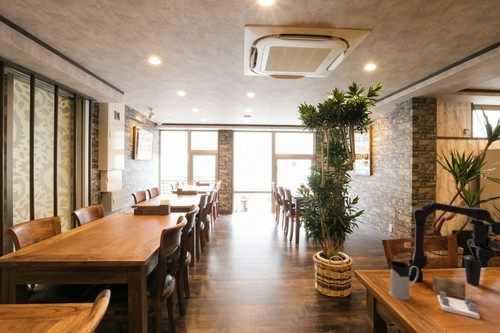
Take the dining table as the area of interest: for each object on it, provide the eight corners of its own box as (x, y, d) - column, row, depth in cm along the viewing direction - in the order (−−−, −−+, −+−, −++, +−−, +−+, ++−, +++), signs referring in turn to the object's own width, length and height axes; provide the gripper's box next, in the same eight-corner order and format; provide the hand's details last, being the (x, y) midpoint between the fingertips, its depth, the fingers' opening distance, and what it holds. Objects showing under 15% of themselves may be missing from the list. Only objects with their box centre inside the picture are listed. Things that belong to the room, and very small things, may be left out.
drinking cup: (486, 287, 123) (486, 249, 123) (469, 286, 124) (469, 248, 124) (475, 281, 130) (475, 245, 130) (459, 279, 132) (460, 244, 132)
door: (433, 291, 119) (433, 278, 119) (432, 289, 121) (432, 275, 121) (465, 298, 113) (465, 284, 113) (463, 295, 115) (463, 281, 115)
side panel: (442, 310, 103) (442, 300, 103) (437, 298, 113) (437, 288, 113) (479, 318, 97) (479, 308, 97) (470, 305, 107) (470, 295, 107)
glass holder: (385, 290, 120) (385, 260, 120) (411, 289, 121) (411, 260, 121) (397, 299, 111) (397, 268, 111) (425, 298, 112) (425, 267, 112)
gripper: (512, 241, 106) (512, 275, 106) (495, 231, 122) (494, 261, 122) (479, 237, 111) (478, 269, 111) (466, 228, 128) (466, 257, 128)
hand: (480, 264), depth 118 cm, fingers open, 9 cm apart
